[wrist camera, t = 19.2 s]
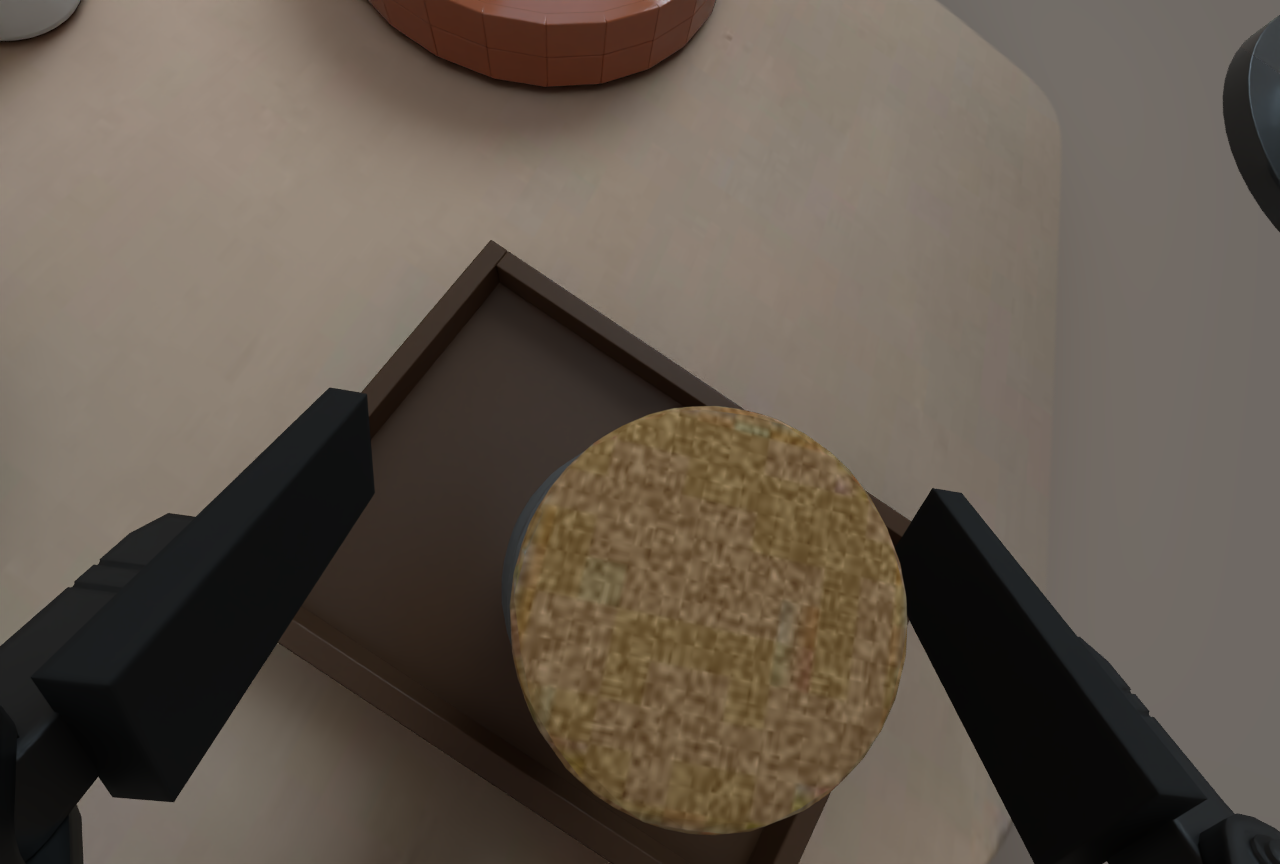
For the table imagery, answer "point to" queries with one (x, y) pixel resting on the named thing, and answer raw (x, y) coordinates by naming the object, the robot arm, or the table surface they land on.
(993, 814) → the table surface
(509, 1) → the terracotta bowl
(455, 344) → the tray
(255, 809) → the table surface
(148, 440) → the table surface
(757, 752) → the bottle
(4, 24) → the cup
